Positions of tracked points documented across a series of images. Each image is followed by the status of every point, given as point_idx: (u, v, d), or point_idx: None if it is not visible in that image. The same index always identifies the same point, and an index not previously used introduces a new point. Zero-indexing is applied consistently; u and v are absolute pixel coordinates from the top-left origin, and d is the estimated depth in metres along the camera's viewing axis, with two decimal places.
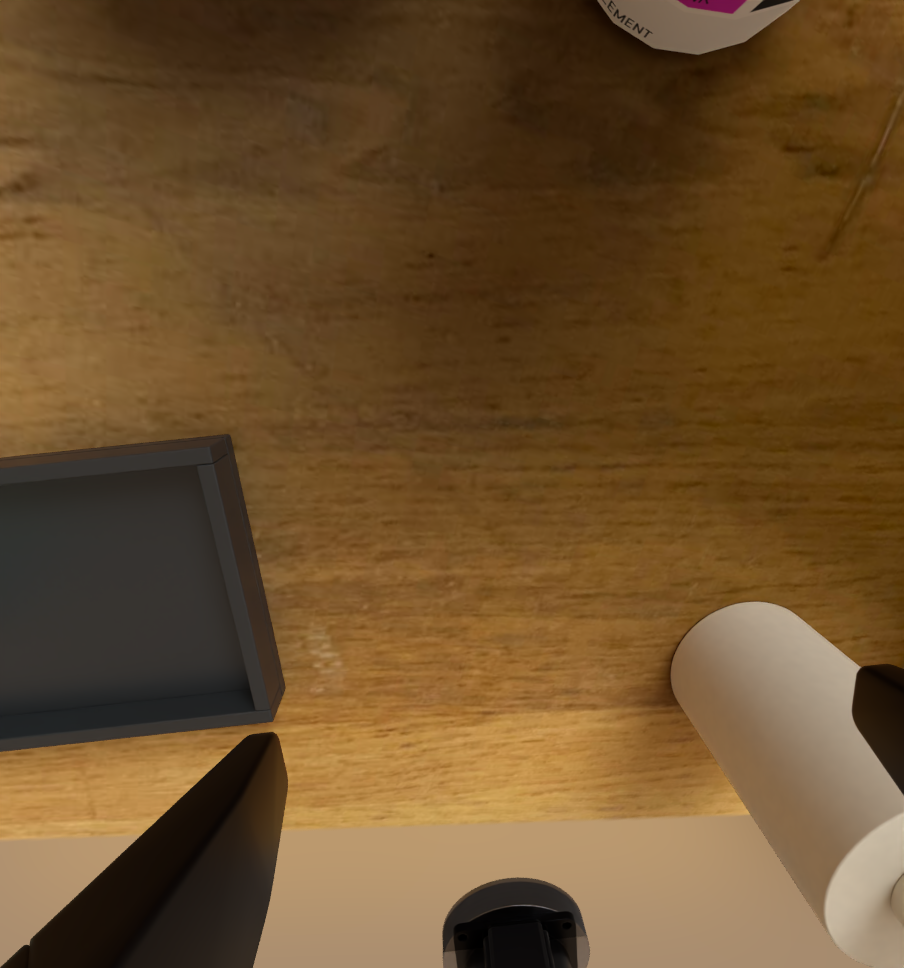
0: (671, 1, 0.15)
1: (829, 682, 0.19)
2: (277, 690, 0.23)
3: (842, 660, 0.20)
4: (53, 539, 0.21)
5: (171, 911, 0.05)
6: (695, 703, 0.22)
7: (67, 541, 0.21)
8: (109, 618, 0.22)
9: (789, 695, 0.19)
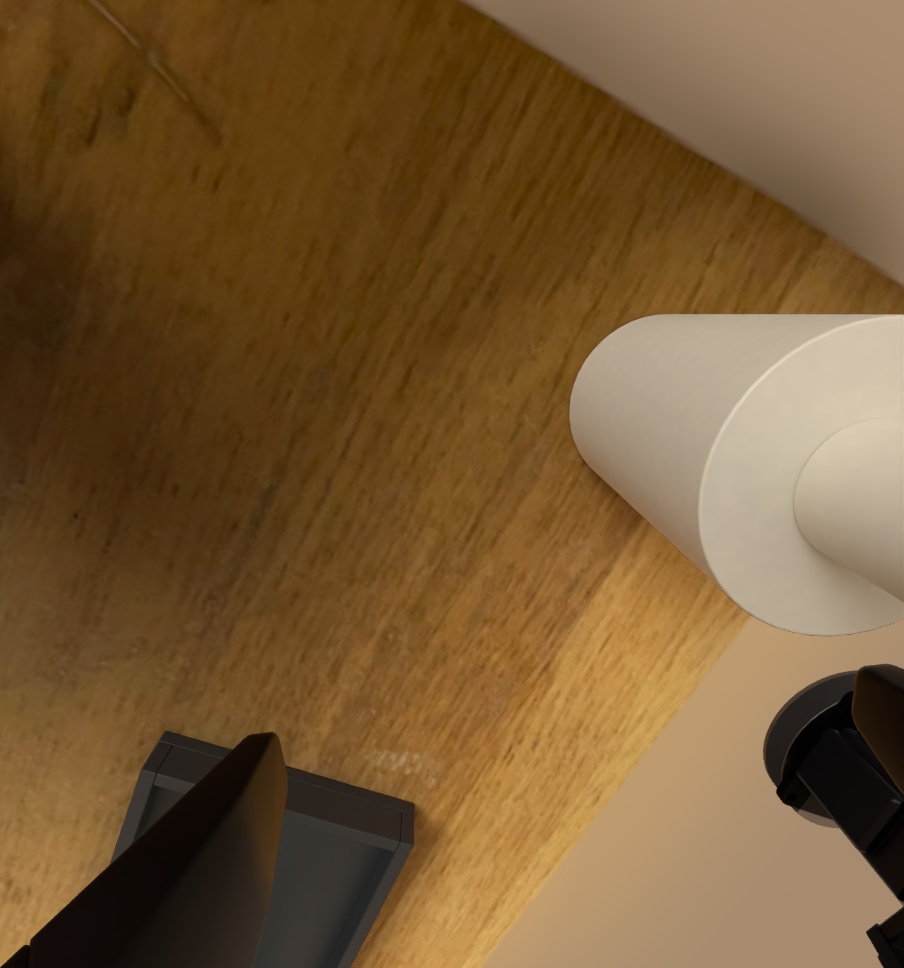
0: None
1: (629, 398, 0.15)
2: (400, 818, 0.24)
3: (644, 347, 0.15)
4: None
5: (171, 911, 0.05)
6: None
7: None
8: (272, 885, 0.25)
9: (618, 449, 0.15)
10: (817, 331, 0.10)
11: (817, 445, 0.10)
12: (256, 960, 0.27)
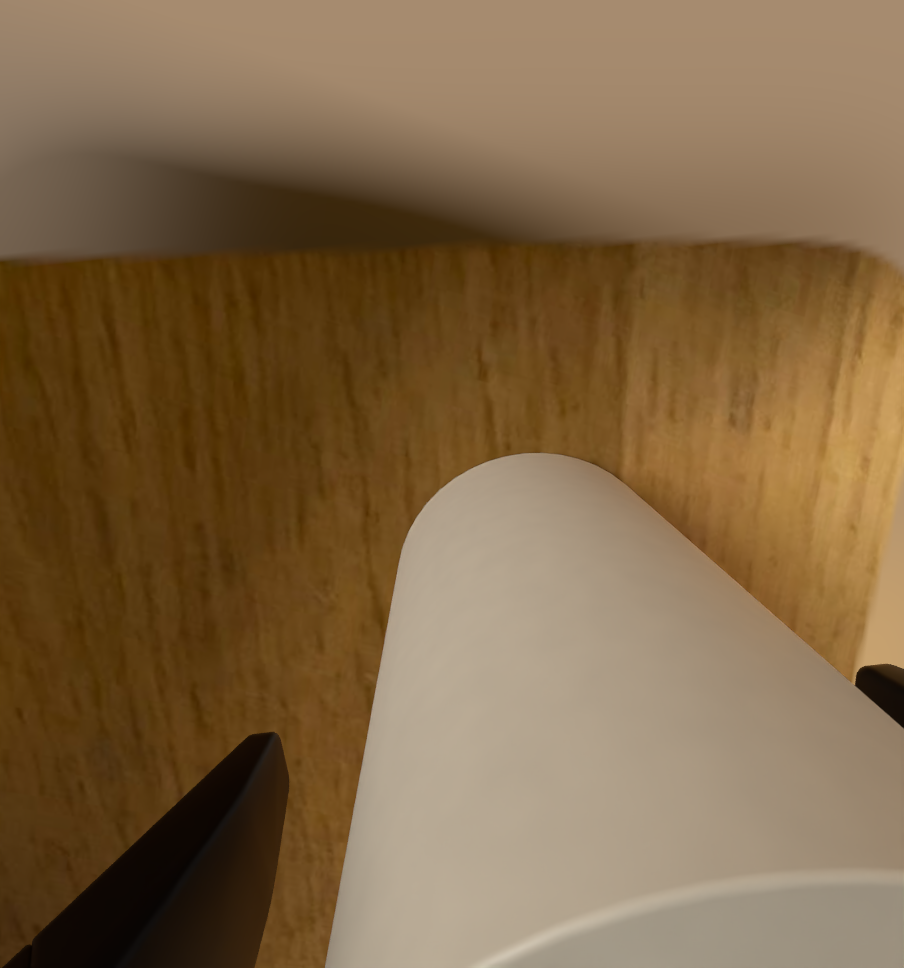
0: None
1: None
2: None
3: (386, 639, 0.09)
4: None
5: (173, 911, 0.05)
6: None
7: None
8: None
9: None
10: None
11: None
12: None
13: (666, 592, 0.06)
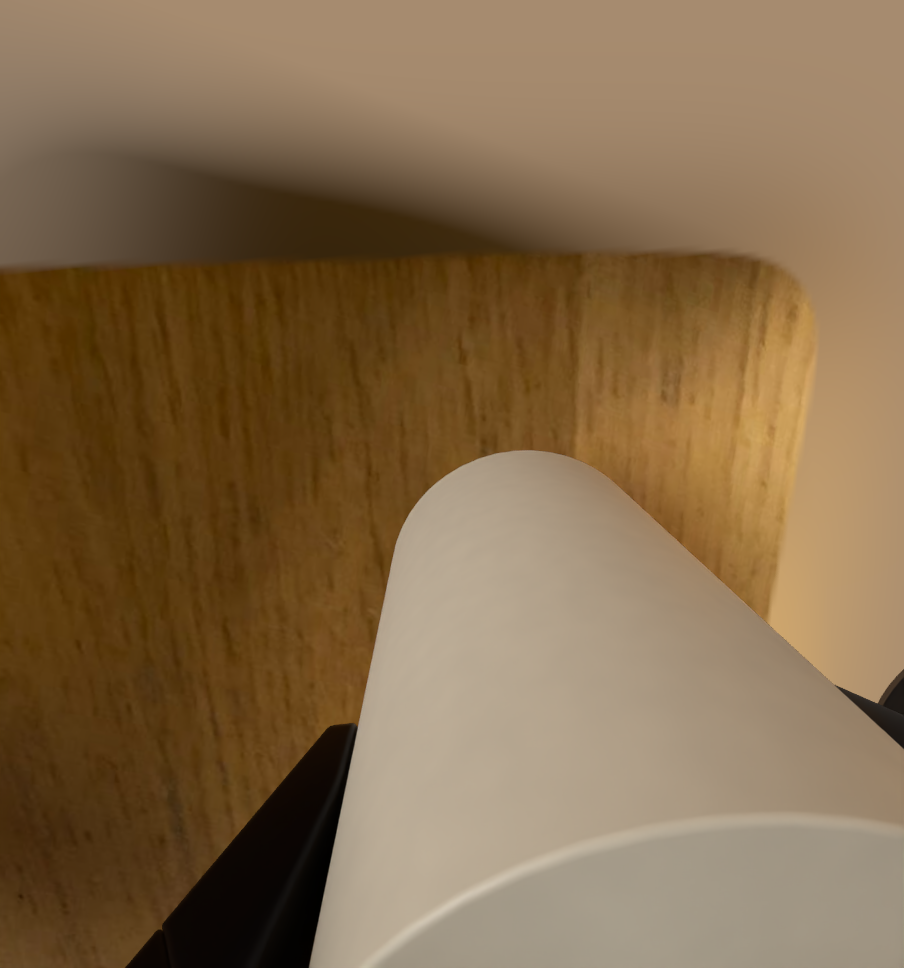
0: None
1: None
2: None
3: (378, 628, 0.10)
4: None
5: (294, 897, 0.05)
6: None
7: None
8: None
9: None
10: (366, 923, 0.04)
11: None
12: None
13: (638, 579, 0.06)
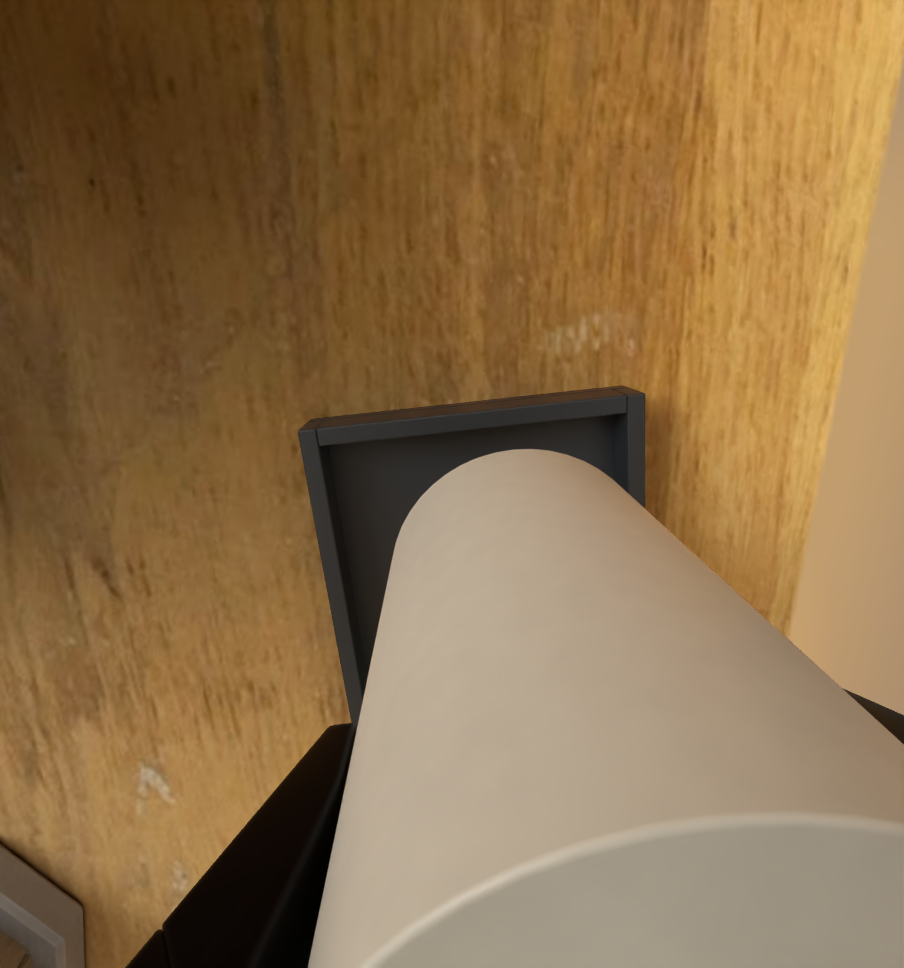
0: None
1: None
2: (614, 390, 0.19)
3: (378, 627, 0.10)
4: None
5: (295, 897, 0.05)
6: None
7: None
8: None
9: None
10: (366, 923, 0.04)
11: None
12: None
13: (639, 577, 0.06)
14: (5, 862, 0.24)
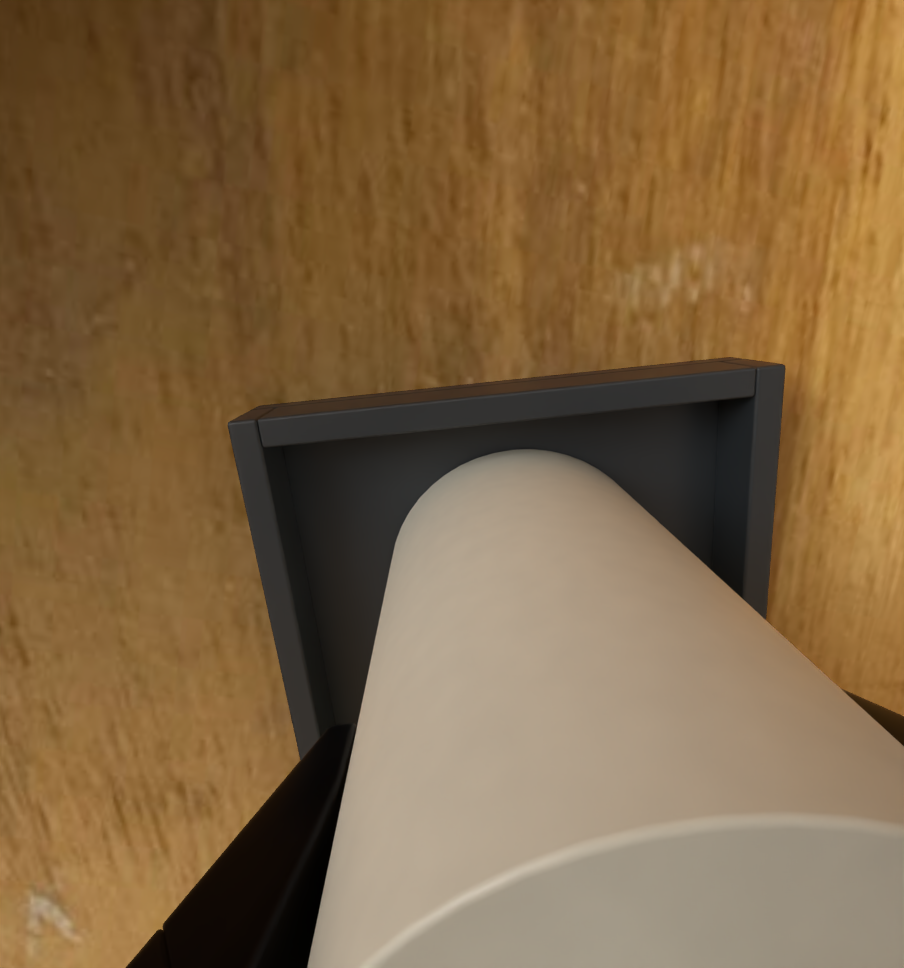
0: None
1: None
2: (726, 363, 0.12)
3: (378, 628, 0.10)
4: None
5: (295, 897, 0.05)
6: None
7: None
8: None
9: None
10: (365, 924, 0.04)
11: None
12: None
13: (639, 578, 0.06)
14: None
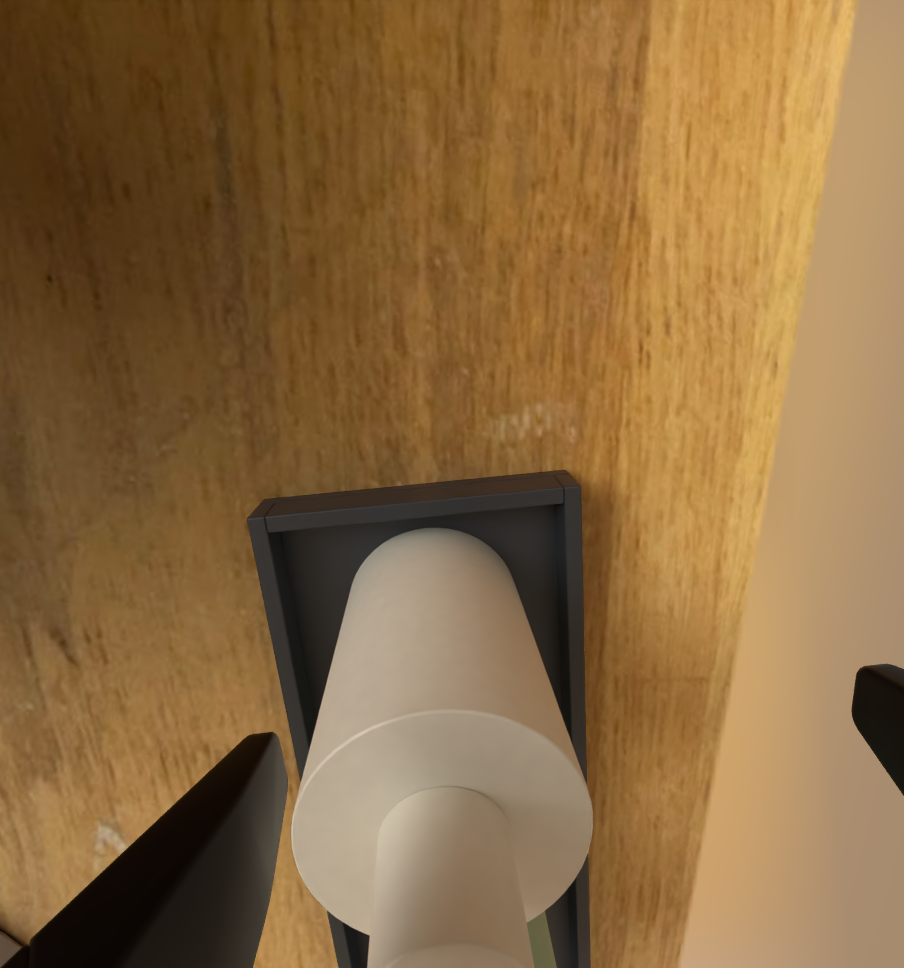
0: None
1: None
2: (555, 478, 0.20)
3: None
4: None
5: (171, 911, 0.05)
6: None
7: None
8: None
9: None
10: (322, 753, 0.11)
11: (377, 831, 0.12)
12: None
13: (452, 624, 0.14)
14: None
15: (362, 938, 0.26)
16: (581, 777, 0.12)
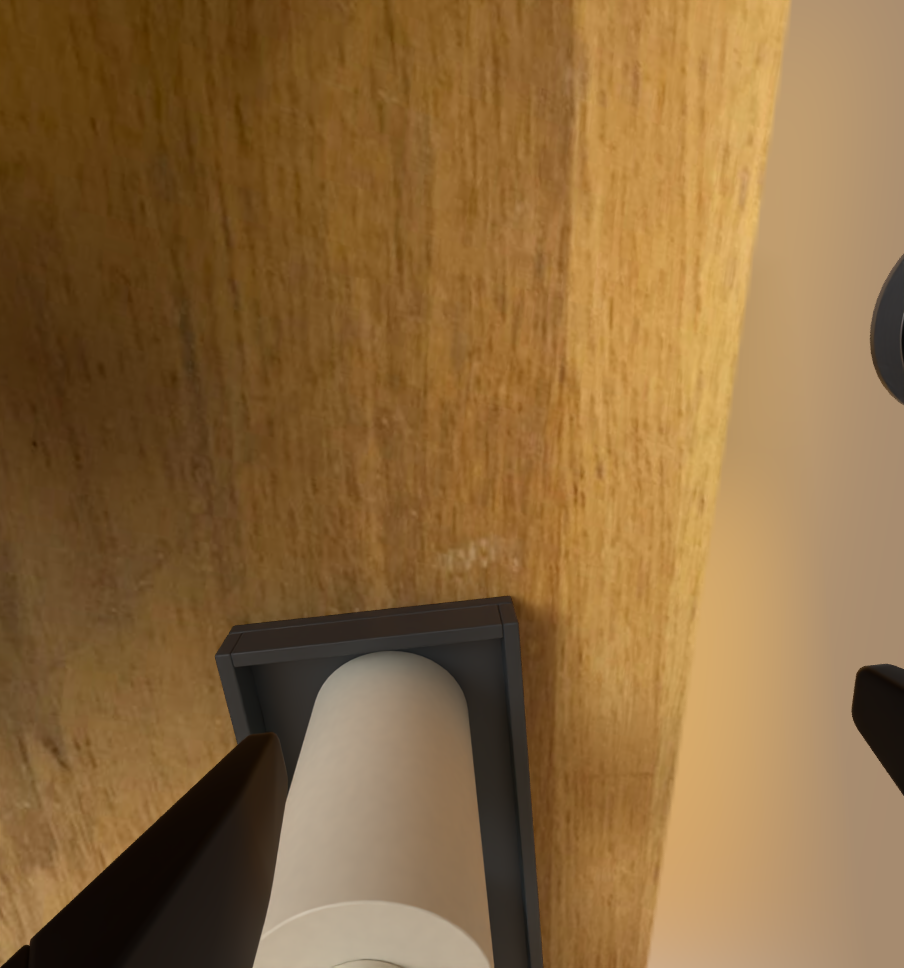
0: None
1: None
2: (497, 608, 0.21)
3: None
4: None
5: (171, 911, 0.05)
6: None
7: None
8: None
9: None
10: None
11: None
12: None
13: (383, 787, 0.16)
14: None
15: None
16: (482, 950, 0.13)
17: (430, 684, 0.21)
